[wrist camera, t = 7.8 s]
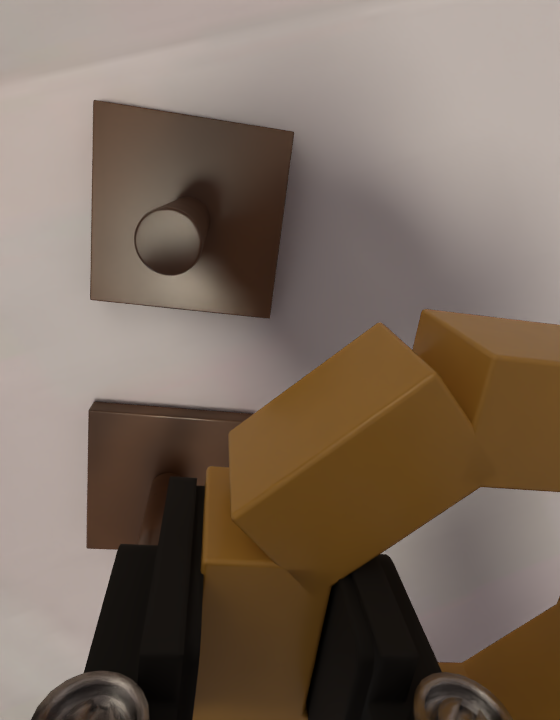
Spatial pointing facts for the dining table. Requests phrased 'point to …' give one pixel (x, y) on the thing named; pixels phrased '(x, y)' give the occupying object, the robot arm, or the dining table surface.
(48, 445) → the dining table surface
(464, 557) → the dining table surface
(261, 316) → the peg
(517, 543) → the dining table surface
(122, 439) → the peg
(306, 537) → the ring
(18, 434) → the dining table surface
